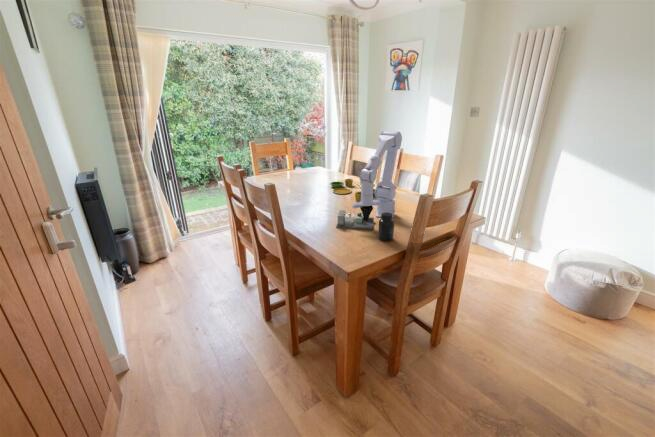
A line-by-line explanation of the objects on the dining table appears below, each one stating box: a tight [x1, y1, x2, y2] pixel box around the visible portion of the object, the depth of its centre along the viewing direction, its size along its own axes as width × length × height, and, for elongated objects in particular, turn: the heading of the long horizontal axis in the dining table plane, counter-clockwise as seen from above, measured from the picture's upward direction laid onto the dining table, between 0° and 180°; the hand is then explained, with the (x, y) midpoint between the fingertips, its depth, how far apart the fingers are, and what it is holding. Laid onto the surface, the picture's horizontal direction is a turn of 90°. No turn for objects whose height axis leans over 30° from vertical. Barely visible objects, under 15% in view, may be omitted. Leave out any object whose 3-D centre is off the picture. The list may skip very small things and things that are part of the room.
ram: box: [355, 212, 363, 224], centre depth 148 cm, size 3×7×5 cm, turn 170°
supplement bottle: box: [377, 212, 395, 243], centre depth 132 cm, size 7×7×12 cm
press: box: [335, 209, 375, 231], centre depth 148 cm, size 18×11×6 cm, turn 80°
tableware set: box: [329, 178, 378, 203], centre depth 200 cm, size 41×28×6 cm
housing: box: [345, 212, 355, 225], centre depth 149 cm, size 4×4×5 cm
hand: (365, 219), depth 147 cm, fingers closed
